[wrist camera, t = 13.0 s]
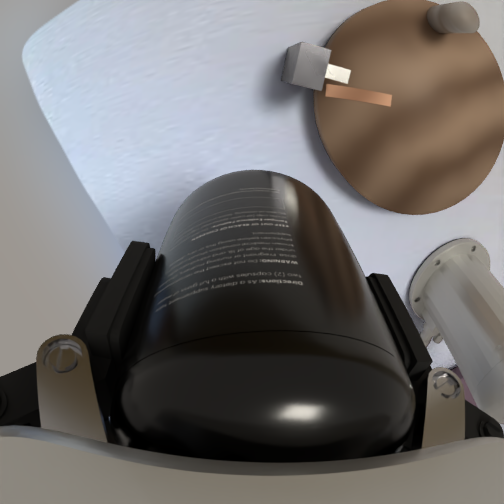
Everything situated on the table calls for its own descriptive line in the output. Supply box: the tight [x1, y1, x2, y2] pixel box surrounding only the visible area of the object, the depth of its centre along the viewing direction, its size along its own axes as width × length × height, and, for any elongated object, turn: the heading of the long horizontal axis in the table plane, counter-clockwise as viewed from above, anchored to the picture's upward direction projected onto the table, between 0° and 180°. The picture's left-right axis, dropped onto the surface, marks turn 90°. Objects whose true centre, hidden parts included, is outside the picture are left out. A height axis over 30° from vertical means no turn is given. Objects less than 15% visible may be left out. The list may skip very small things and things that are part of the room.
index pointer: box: [281, 42, 351, 91], centre depth 20 cm, size 3×4×6 cm
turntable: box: [313, 0, 504, 215], centre depth 21 cm, size 20×20×6 cm
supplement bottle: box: [110, 170, 416, 463], centre depth 8 cm, size 7×7×12 cm
